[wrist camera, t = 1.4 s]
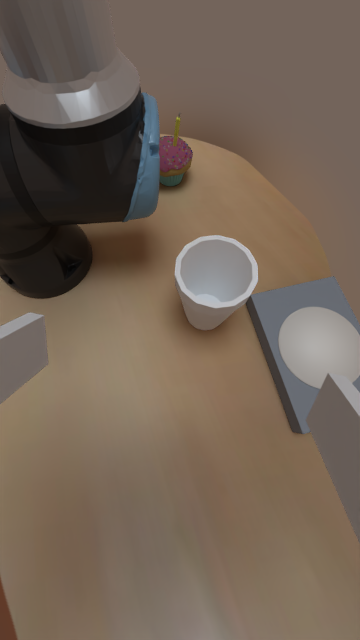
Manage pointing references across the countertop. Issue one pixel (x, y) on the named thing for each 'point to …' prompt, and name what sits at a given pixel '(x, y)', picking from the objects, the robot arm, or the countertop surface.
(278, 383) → the pedestal
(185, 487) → the countertop surface
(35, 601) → the countertop surface
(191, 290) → the foam cup
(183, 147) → the cupcake
